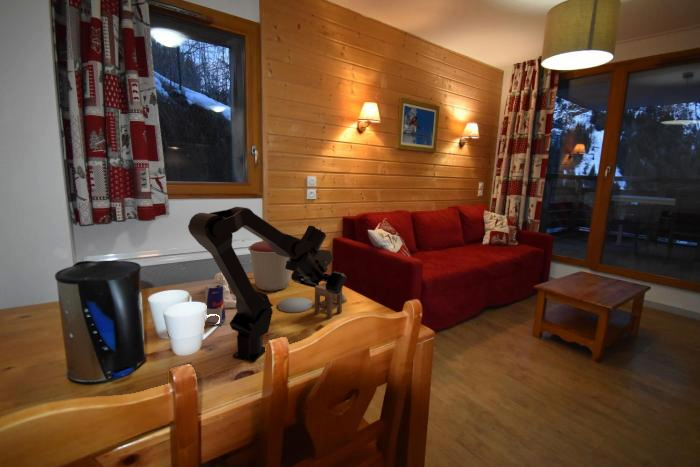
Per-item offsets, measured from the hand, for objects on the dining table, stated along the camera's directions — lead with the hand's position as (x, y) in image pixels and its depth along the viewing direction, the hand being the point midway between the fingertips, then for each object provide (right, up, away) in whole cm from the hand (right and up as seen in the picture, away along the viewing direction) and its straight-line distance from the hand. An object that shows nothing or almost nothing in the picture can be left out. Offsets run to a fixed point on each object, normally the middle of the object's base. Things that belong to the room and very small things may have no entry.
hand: (329, 290), depth 111 cm
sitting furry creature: (-37, -6, +6) cm, 38 cm away
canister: (-24, -3, +25) cm, 35 cm away
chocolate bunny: (+2, -6, +11) cm, 13 cm away
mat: (-12, -7, +7) cm, 15 cm away
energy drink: (-34, -9, -7) cm, 36 cm away
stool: (0, -8, +1) cm, 8 cm away
